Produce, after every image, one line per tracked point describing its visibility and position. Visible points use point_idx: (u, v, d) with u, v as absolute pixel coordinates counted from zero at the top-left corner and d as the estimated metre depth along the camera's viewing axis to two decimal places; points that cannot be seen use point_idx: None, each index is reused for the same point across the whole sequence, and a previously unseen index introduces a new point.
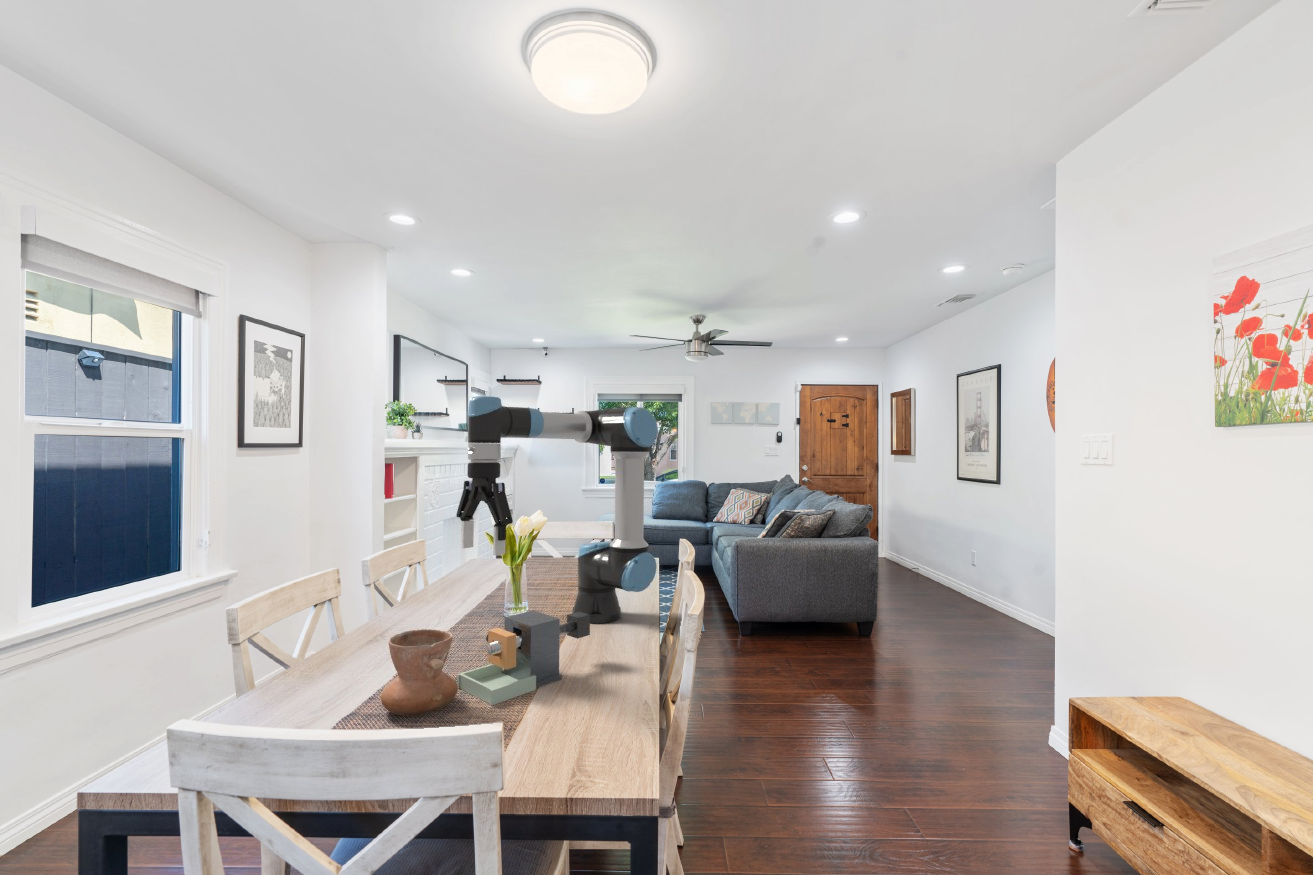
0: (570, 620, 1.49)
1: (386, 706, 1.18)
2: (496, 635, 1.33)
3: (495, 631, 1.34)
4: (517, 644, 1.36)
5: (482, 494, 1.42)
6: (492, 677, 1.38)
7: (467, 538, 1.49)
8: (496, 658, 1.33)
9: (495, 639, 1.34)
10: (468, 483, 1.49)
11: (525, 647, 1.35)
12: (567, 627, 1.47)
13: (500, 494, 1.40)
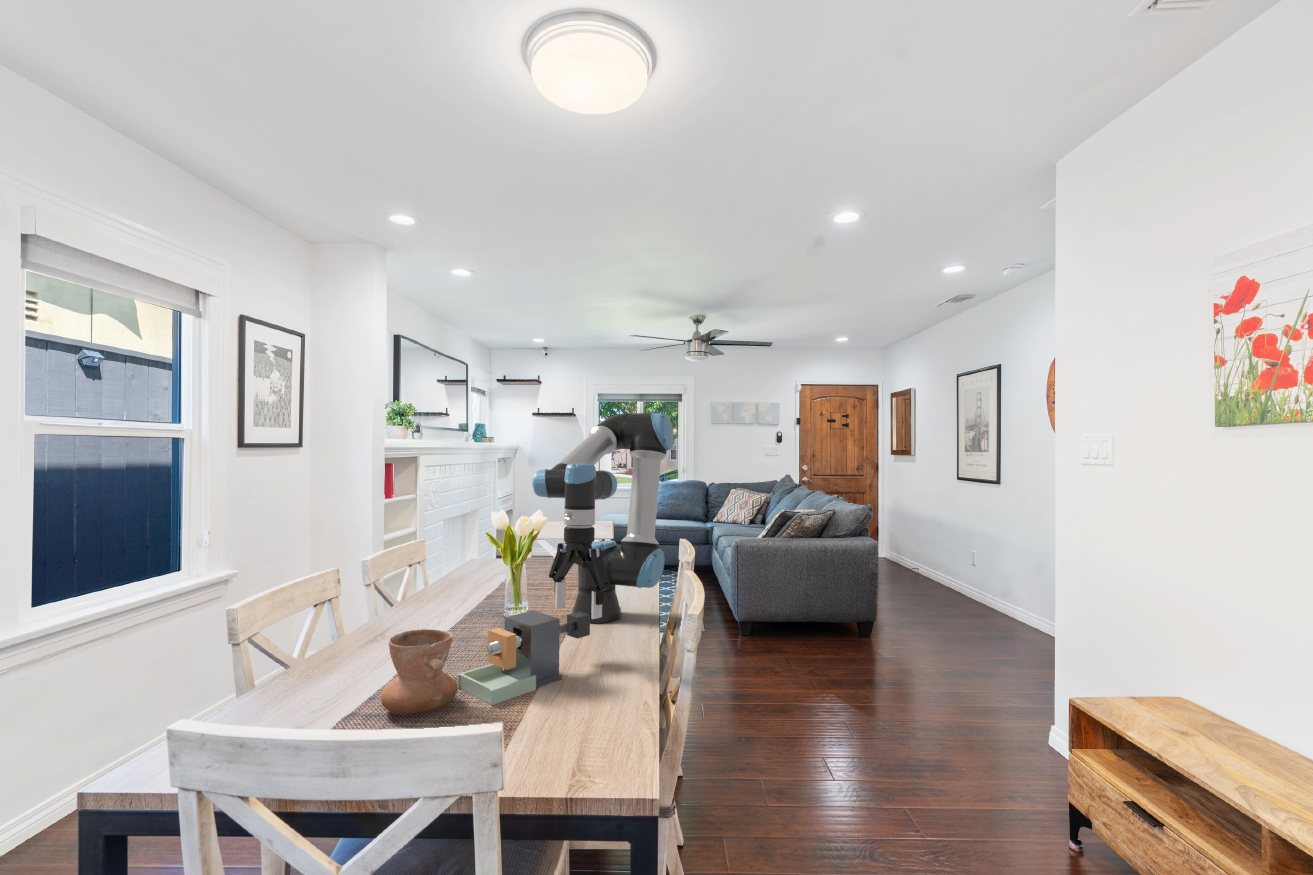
0: (570, 620, 1.49)
1: (386, 706, 1.18)
2: (496, 635, 1.33)
3: (495, 631, 1.34)
4: (517, 644, 1.36)
5: (579, 558, 1.48)
6: (492, 677, 1.38)
7: (560, 599, 1.54)
8: (496, 658, 1.33)
9: (495, 639, 1.34)
10: (562, 545, 1.54)
11: (525, 647, 1.35)
12: (567, 627, 1.47)
13: (598, 560, 1.46)
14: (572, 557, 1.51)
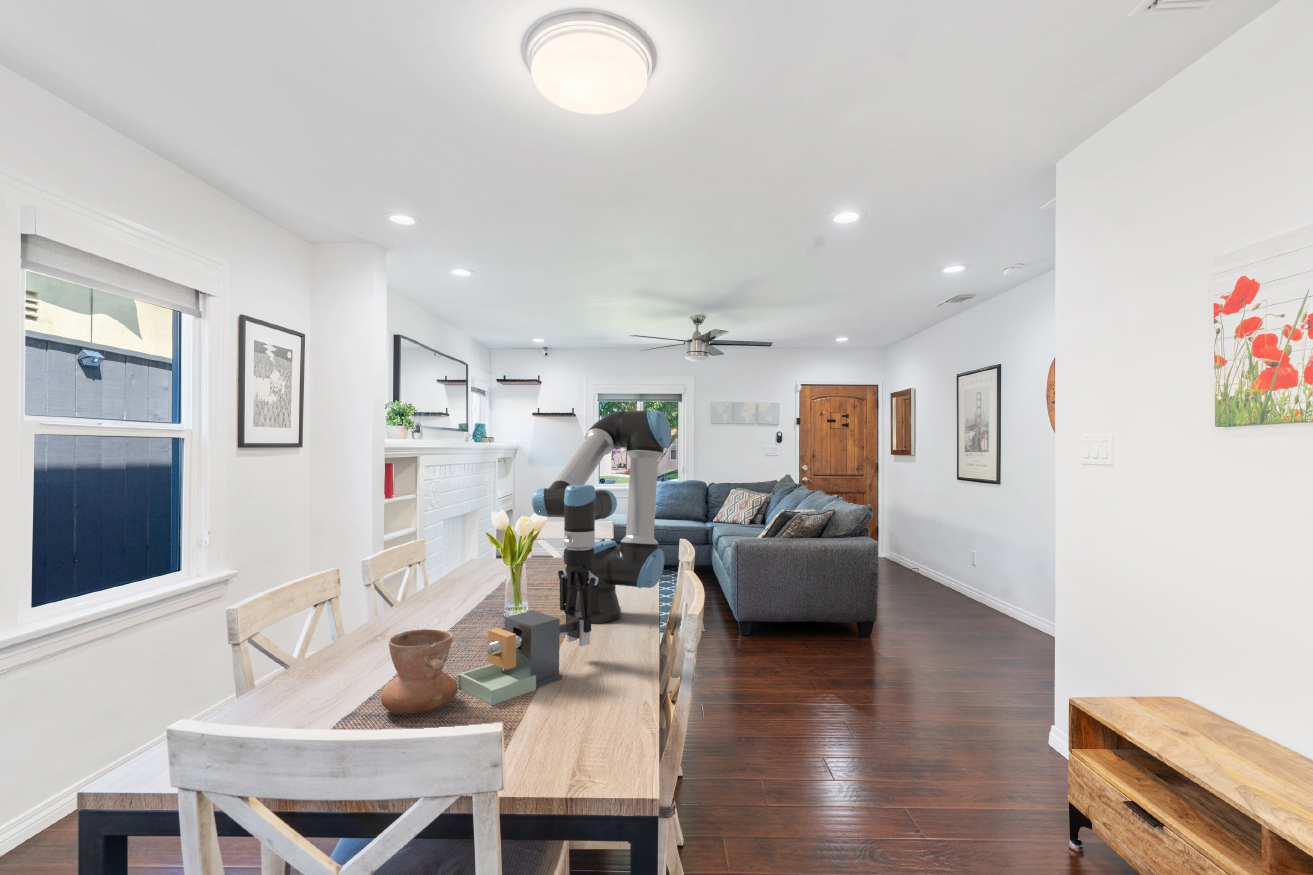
0: (570, 620, 1.49)
1: (386, 706, 1.18)
2: (496, 635, 1.33)
3: (495, 631, 1.34)
4: (517, 644, 1.36)
5: (577, 581, 1.48)
6: (492, 677, 1.38)
7: None
8: (496, 658, 1.33)
9: (495, 639, 1.34)
10: (562, 571, 1.54)
11: (525, 647, 1.35)
12: (567, 627, 1.47)
13: (594, 589, 1.47)
14: (574, 578, 1.50)
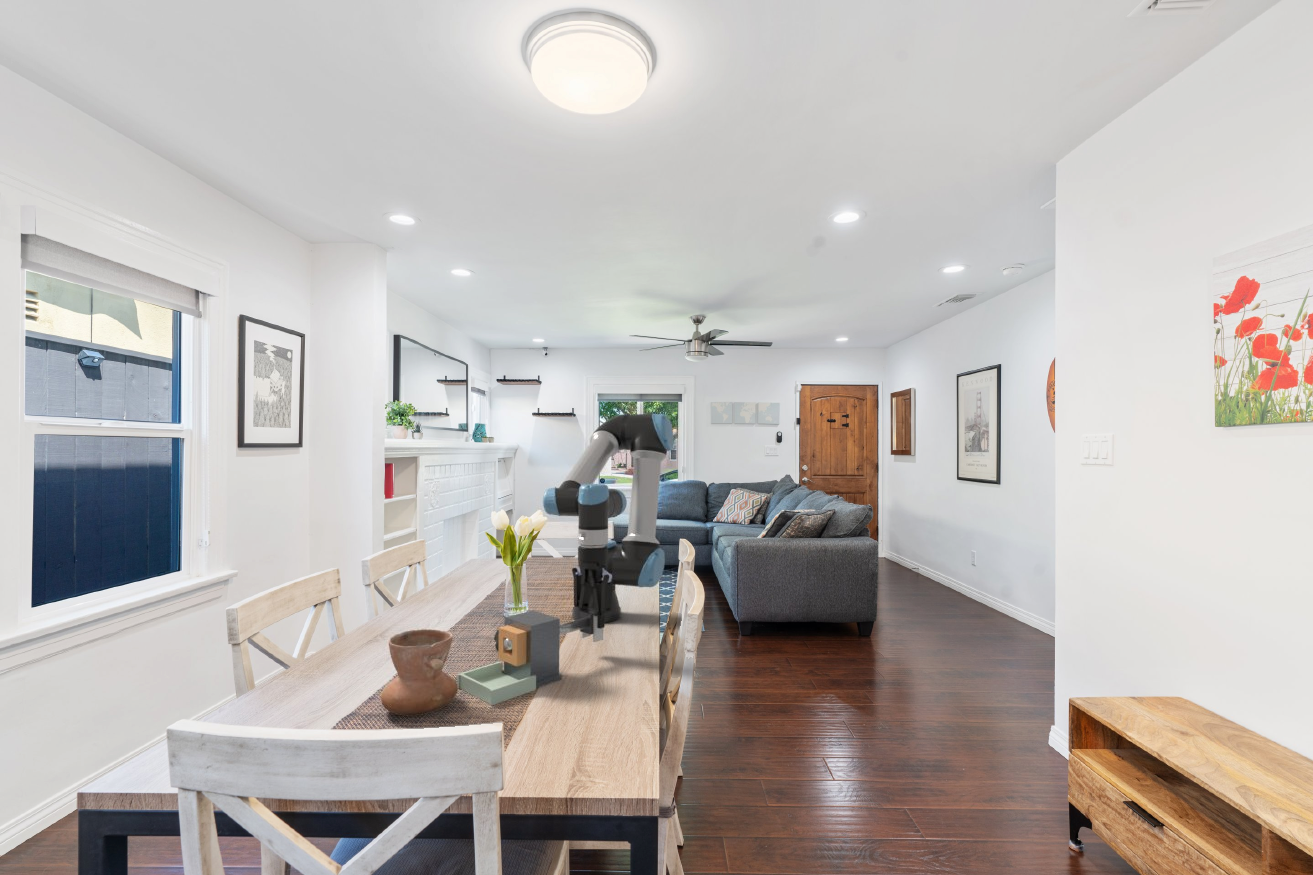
0: (583, 616, 1.53)
1: (386, 706, 1.18)
2: (507, 632, 1.35)
3: (506, 629, 1.36)
4: None
5: (591, 578, 1.52)
6: (492, 677, 1.38)
7: None
8: (506, 654, 1.35)
9: (505, 636, 1.36)
10: (576, 569, 1.57)
11: None
12: (581, 623, 1.50)
13: (608, 586, 1.50)
14: (588, 575, 1.54)
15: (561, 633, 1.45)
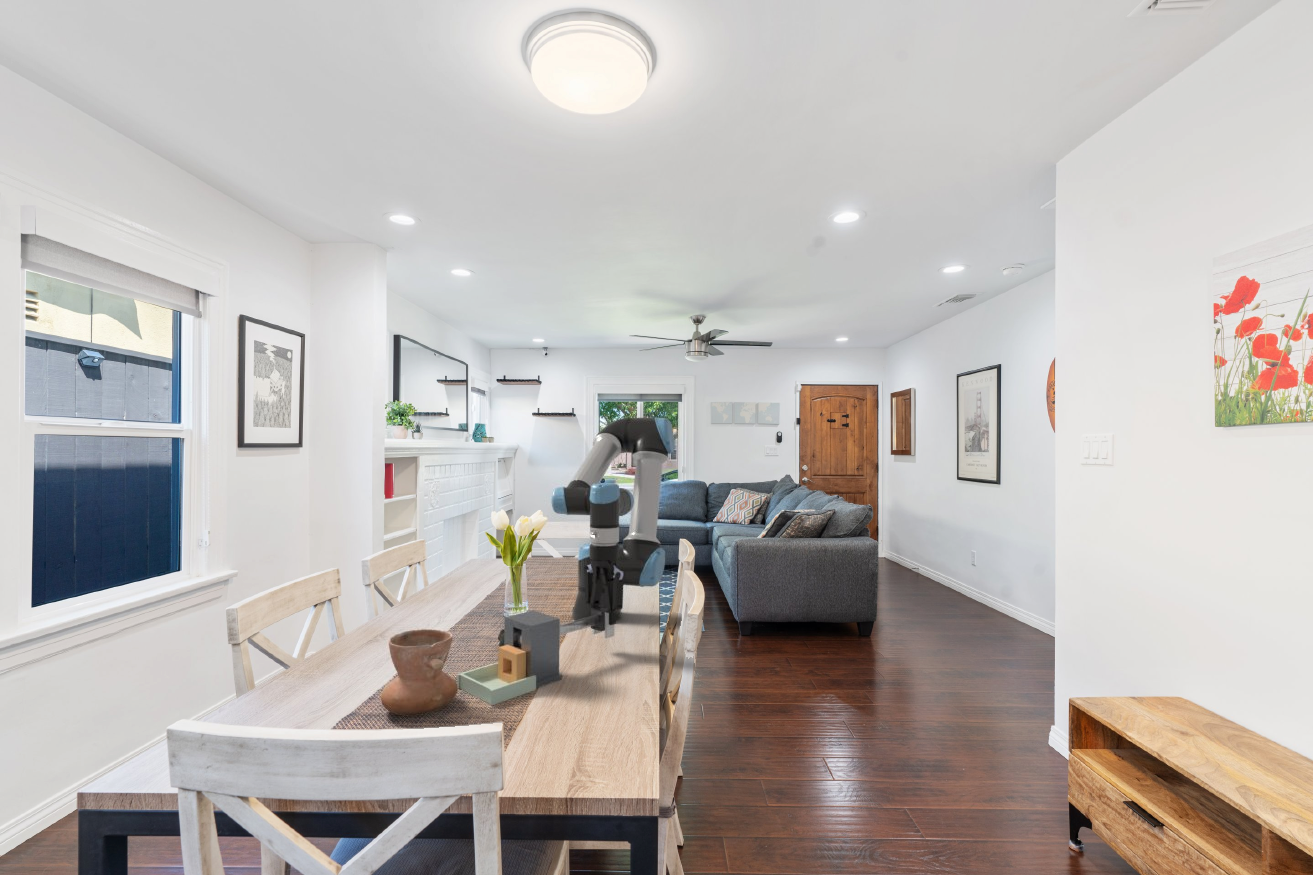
0: (594, 614, 1.55)
1: (386, 706, 1.18)
2: (506, 652, 1.35)
3: (505, 648, 1.36)
4: None
5: (603, 576, 1.55)
6: (492, 677, 1.38)
7: None
8: (506, 675, 1.35)
9: (505, 656, 1.36)
10: (587, 566, 1.60)
11: (525, 647, 1.35)
12: (591, 620, 1.52)
13: (619, 583, 1.53)
14: (599, 573, 1.56)
15: (573, 630, 1.48)
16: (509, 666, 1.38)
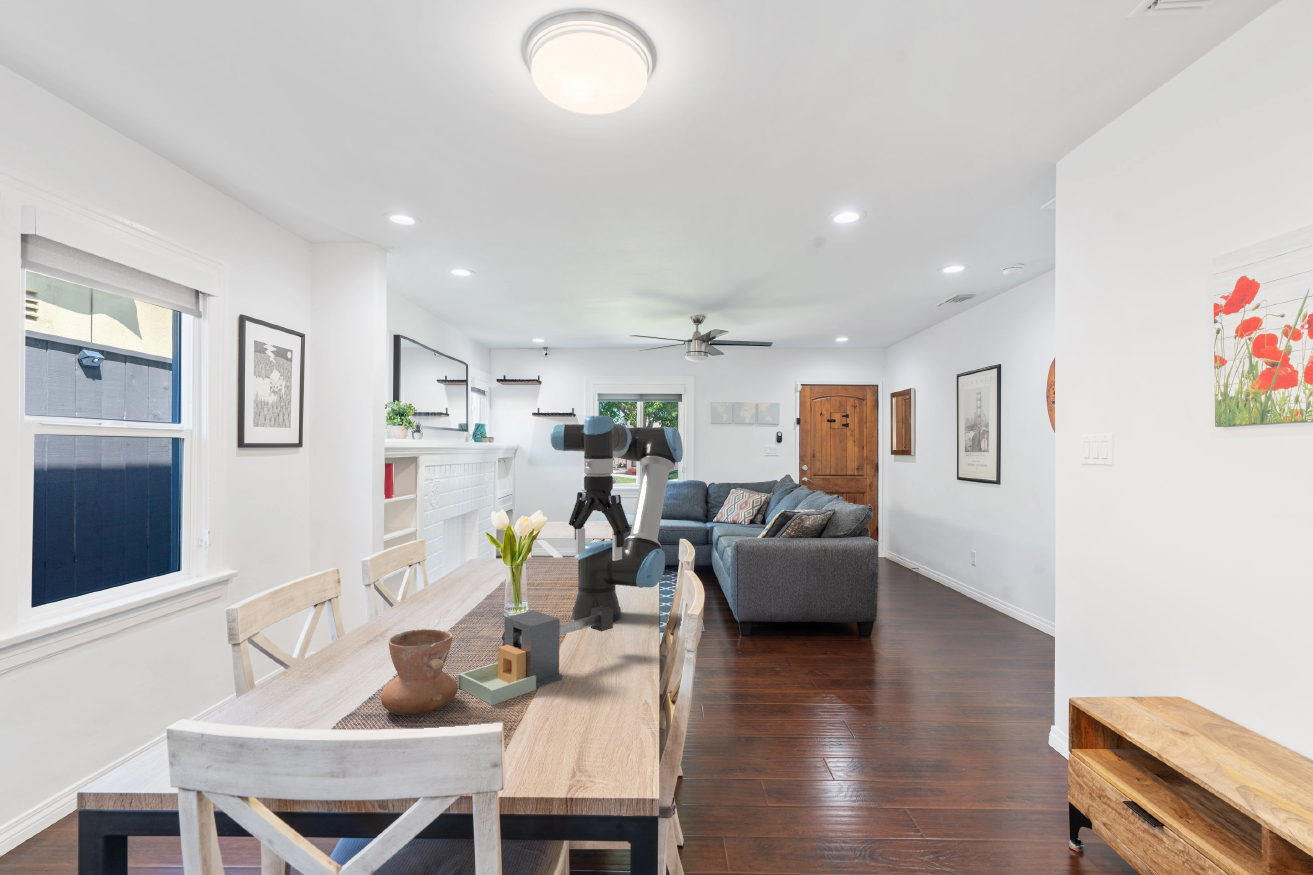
0: (594, 614, 1.55)
1: (386, 706, 1.18)
2: (506, 652, 1.35)
3: (505, 648, 1.36)
4: None
5: (599, 505, 1.57)
6: (492, 677, 1.38)
7: (580, 544, 1.63)
8: (506, 675, 1.35)
9: (505, 656, 1.36)
10: (581, 494, 1.62)
11: (525, 647, 1.35)
12: (591, 620, 1.52)
13: (618, 505, 1.54)
14: (592, 504, 1.59)
15: (573, 630, 1.48)
16: (509, 666, 1.38)
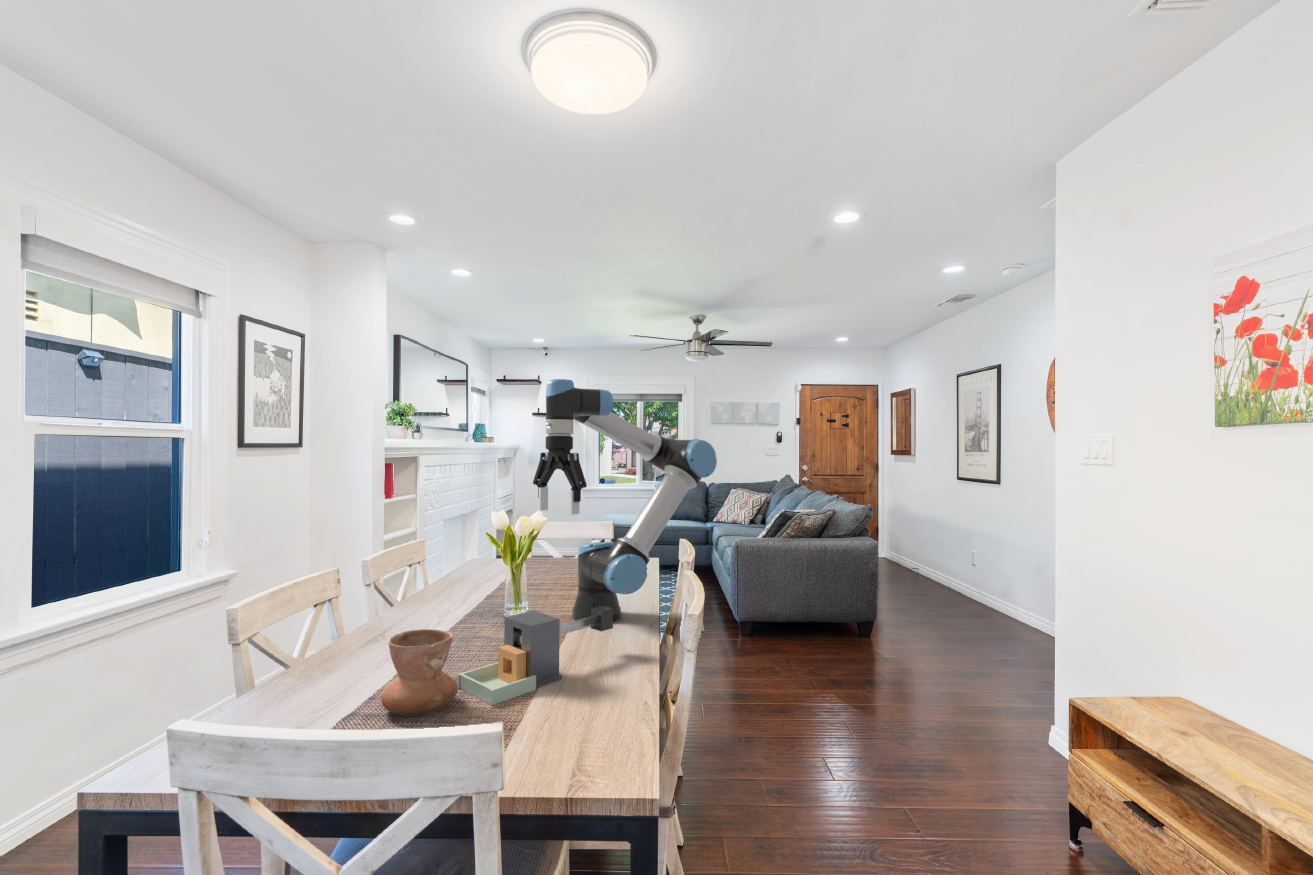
0: (594, 614, 1.55)
1: (386, 706, 1.18)
2: (506, 652, 1.35)
3: (505, 648, 1.36)
4: None
5: (559, 463, 1.66)
6: (492, 677, 1.38)
7: (543, 502, 1.73)
8: (506, 675, 1.35)
9: (505, 656, 1.36)
10: (544, 454, 1.72)
11: (525, 647, 1.35)
12: (591, 620, 1.52)
13: (576, 463, 1.64)
14: (553, 463, 1.69)
15: (573, 630, 1.48)
16: (509, 666, 1.38)
